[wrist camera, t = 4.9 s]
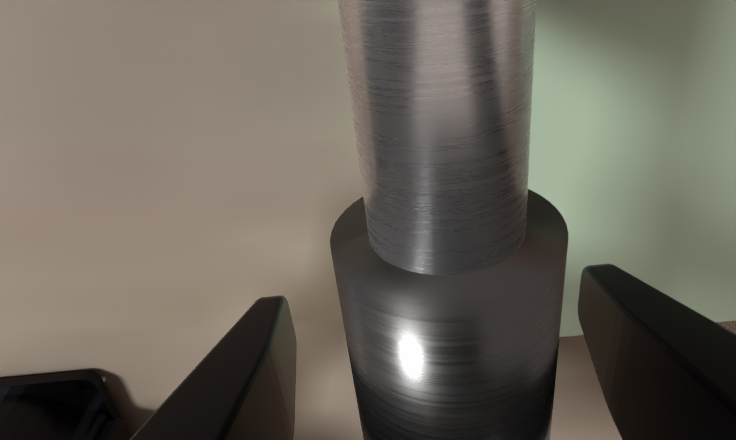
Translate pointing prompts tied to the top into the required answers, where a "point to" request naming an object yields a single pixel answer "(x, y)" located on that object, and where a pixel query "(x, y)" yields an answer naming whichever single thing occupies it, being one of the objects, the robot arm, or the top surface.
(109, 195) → the top surface
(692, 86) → the foosball frame
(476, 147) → the rod
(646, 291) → the robot arm
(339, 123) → the top surface
